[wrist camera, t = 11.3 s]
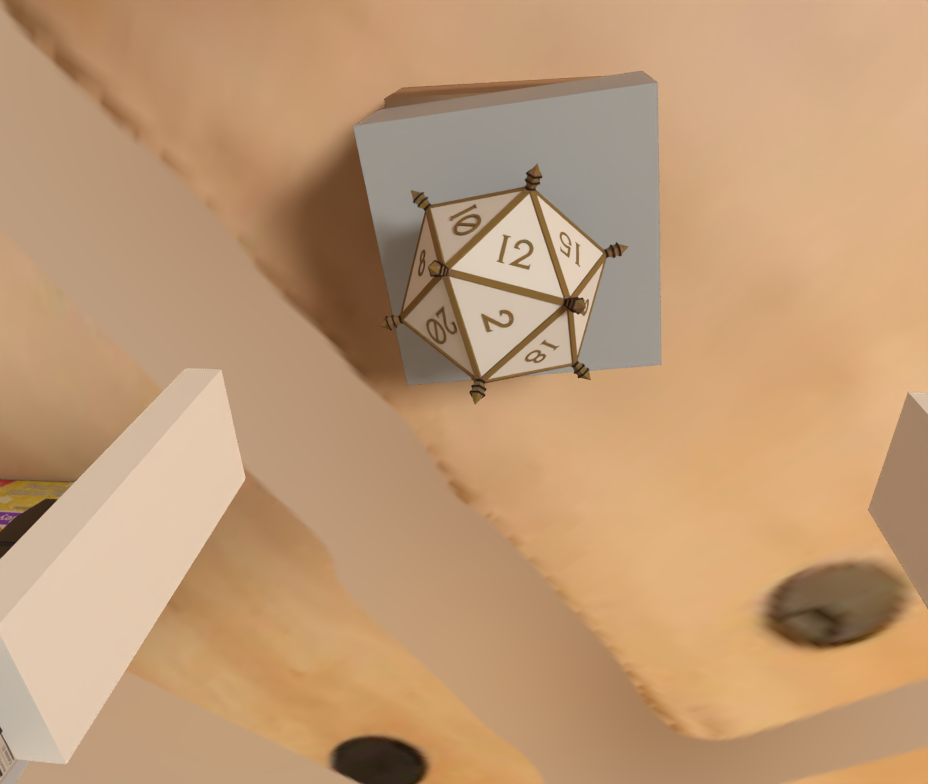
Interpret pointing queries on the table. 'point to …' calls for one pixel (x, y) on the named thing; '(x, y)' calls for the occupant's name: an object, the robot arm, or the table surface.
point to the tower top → (563, 184)
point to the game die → (502, 284)
